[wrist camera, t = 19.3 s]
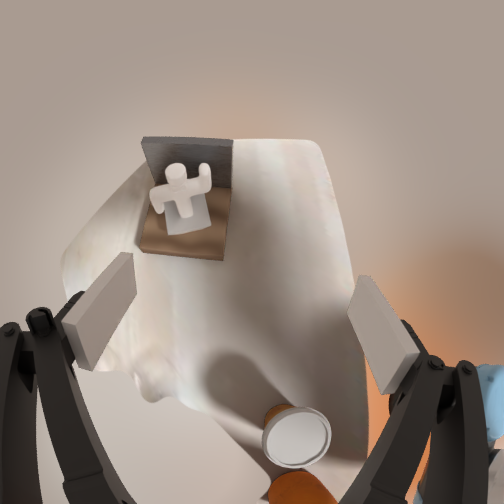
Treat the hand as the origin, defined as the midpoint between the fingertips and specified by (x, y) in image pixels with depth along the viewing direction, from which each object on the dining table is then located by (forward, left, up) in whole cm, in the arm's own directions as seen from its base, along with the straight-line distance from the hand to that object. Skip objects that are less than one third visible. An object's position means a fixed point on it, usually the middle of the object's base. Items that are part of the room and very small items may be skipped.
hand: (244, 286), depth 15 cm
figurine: (+19, +9, -29) cm, 36 cm away
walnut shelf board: (+20, +9, -32) cm, 39 cm away
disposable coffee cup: (-16, -8, -32) cm, 37 cm away
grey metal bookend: (+27, +8, -29) cm, 41 cm away
